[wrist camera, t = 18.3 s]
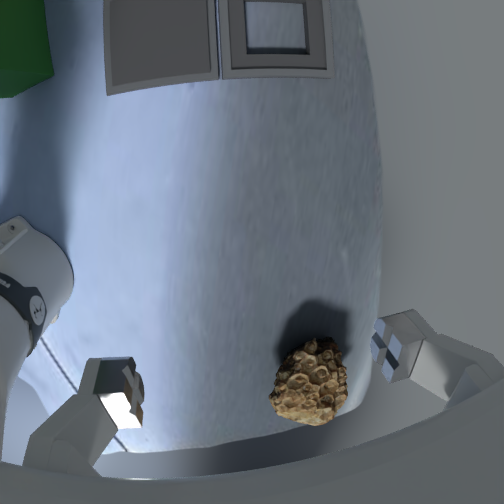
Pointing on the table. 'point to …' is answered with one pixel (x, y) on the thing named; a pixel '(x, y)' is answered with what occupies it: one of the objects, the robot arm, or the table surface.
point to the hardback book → (23, 46)
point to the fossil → (310, 383)
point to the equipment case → (202, 44)
